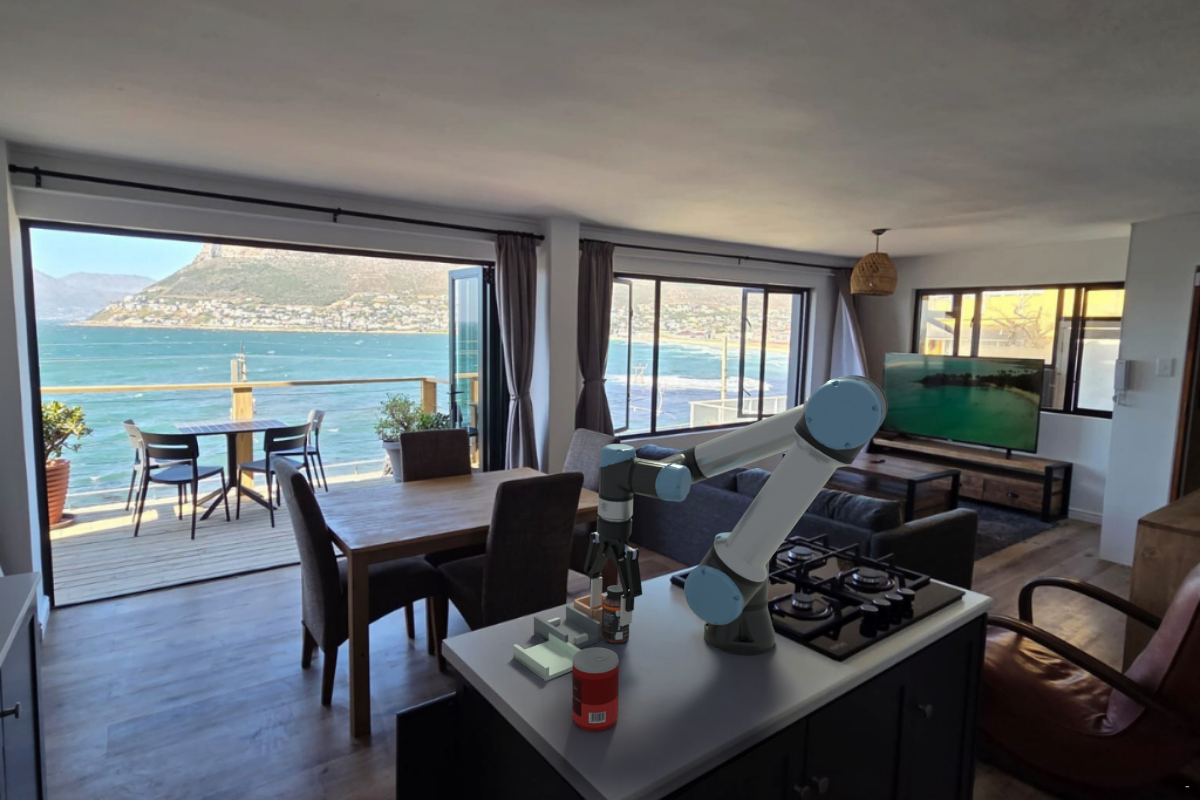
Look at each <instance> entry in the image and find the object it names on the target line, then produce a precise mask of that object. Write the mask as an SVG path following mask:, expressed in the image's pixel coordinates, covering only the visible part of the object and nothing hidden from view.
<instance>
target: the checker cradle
mask: <svg viewBox="0 0 1200 800" xmlns="http://www.w3.org/2000/svg"><path fill="white" fill-rule="evenodd" d="M549 633H551V634H553V635H554V636H556V637H557V638H559V639H561V640H562V641H564V642H567V641H568V642H569V643H571V644H572V645H574V646H576V647H577V648H579V649H580V650H581V649H582V648H583V649H584V648H585V647H588V646H590V645H593V644H596V643H598V642H600V641H602V629H601V623H600V622H599V621H597V620H595V619H593V618H591V617H589V616H588V615H586V614H584V613H582V612H580V611H578V610H577V609H575V608H574V606H571V605H569V604H568V605H566V606H565V618H564V619H561V618H560V617H559V616H558V617H555V618H551V619H549V620H544V619H543V618H541V617H539V616H538V615H534V616H533V634H534V636H536V637H538V638H539V639H541V640H543V641H544V642H545V641H546V642H547V641H549Z"/></svg>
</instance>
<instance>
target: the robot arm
mask: <svg viewBox="0 0 1200 800" xmlns="http://www.w3.org/2000/svg"><path fill="white" fill-rule="evenodd" d="M888 404H889V403H888V399H887V396H886V393H885V392H884V390H883V388H882V387H881V386H880V385H879V384H878V383H877V381H874V380H873V379H871V378H870V377H867V376H863V375H855V374H854V375H846V376H845V375H844V376H842V377H841V376H840V377H836V378H833V379H829V380H827V381H826V382H824V383H823V384H822V383H821V385H820V386H819V387H817V388H816V389H815V390H814V391H813V392H812V394H811V395H808V396H807V397H806V399H805V401H804V403H802V404H800V405H797V406H794V407H792V408H789V409H787V410H784V411H782V412H778V413H776V414H774V415H772V416H769V417H767V418H763V419H761V420H759V421H756V422H753V423H751V424H749V425H746V426H743V427H740V428H739V429H735V430H734V431H731V432H729V433H726V434H723V435H721V436H718V437H716V438H712V439H710V440H708V441H704V442H703V443H700V444H697V445H695V446H692V447H690V448H688V449H687V448H686V449H683V450H681V451H678V452H676V453H675V454H672V455H670V456H667V457H665V458H662V459H660V460H653V459H646V458H640V457H637V454H636V452H637V451H636V448H635V447H634V446H632V445H629V444H623V443H611V444H606V445H604V446H603V447H602V448H601V450H600V459H599V464H598V468H599V471H598V472H599V475H598V476H599V477H598V498H597V499H598V501H597V502H598V503H597V515H598V516H597V518H596V531H595V532H591V533H589V545H588V549H587V554H586V557H585V562H584V566H583V572H585V573H587V574H588V577H589V592H590V594H589V595H590V607H591V608H593V607H596V606H599V605H601V600H602V593H603V577H602V576H603V573H602V571H603V570H604V568H605V566H606V564H607V562H608V560H609V559H610V560H612V563H613V566H615V567H616V569H617V574H618V578H619V581H620V586H622V589H623V593H624V595H623V596H621V610H620V625H621V626H625V625H627V624H629V625H630V624H632V623H633V622H632V621H633V611H634V609H635V599H636V598H637V597H641V596H642V595H643V588H642V586H643V585H642V580H641V579H642V578H641V572H640V562H639V558H640V557H639V555H640V550H639V548H632V547H630V543H629V538H630V536H631V535H632V531H633V530H632V528H633V519H632V516H633V515H634V511H633V510H634V494H635V495H640V496H645V497H649V498H653V499H659V500H662V501H666V502H680V503H681V502H683V501H684V500H686V498H687V495H689V493H690V489H691V485H694V484H697V483H698V482H699V483H700V482H702V481H704V480H707V479H709V478H712V477H714V476H715V477H716V476H718V475H721V474H724V473H726V472H728V471H732V470H734V469H737V468H740V467H741V468H742V467H743V466H746V465H749V464H751V463H752V464H753V463H755V462H757V461H760V460H761V461H762V460H764V459H766V458H768V457H772V456H774V455H777V454H781V453H783V452H785V451H786V453H785V455H784V456H783V457H782V459H781V460H780V462H779V463H778V465H776V468H775V469H774V470H773V472H772V473H771V475H770V476H769V478H768V479H767V480H766V482H765V483H764V485H763V486H762V488H761V489H760V491H759V492H758V494H757V495H756V496H755V498H754V499H753V501H751V503H750V505H749V506H748V508H747V509H746V511H745V512H744V513H743V514H742V516H741V518H740V519H739V520H738V521H737V524H736V525H735V526H734V528H733V529H732V531H731V532H720V533H717V534H716V535H715V537H714V541H713V544H712V546H711V547H710V548H709V550H708V551H707V553H706V554H705V555H704V557H703V558H702V560H701V561H700V562H699V564H698V565H697V567H694V568H693V569H692V570H691V571H690V572H689V574H687V575H688V576H687V577H686V579H685V582H684V586H683V587H684V588H683V589H684V590H683V592H684V595H685V599H686V603H687V605H688V607H689V609H690V610H691V611H692V612H693V613H694V615H696V617H698V618H699V619H701V620H702V621H703V622H704V625H703V627H704V628H703V629H704V630H703V637H704V640H705V641H706V642H707V644H709V645H710V646H712V647H714V648H715V649H717V650H720V651H723V652H726V653H729V654H735V655H740V656H741V655H742V656H743V655H744V656H745V655H746V656H751V655H752V656H753V655H759V654H760V655H761V654H764V653H767V652H769V651H770V650H772V649H773V648H772V646H773V645H774V646H775V644H774V642H775V643H776V641H775V640H776V639H775V638H776V632H775V629H774V626H773V622H772V619H771V618H772V617H771V614H770V611H769V608H768V603H769V602H768V599H769V572H770V560H771V559H772V557H773V555H774V554H775V553H776V551H777V550H778V548H779V547H781V545H782V543H783V542H784V541H785V539H786V538H787V537H788V536H789V534H790V533H791V531H792V530H793V529H794V527H795V525H796V524H797V523H798V522H799V520H800V519H801V517H802V516H803V515H804V513H805V512H806V511H807V510H808V508H809V507H810V505H811V504H812V502H814V500H815V499H816V497H817V496H818V495H819V493H820V492H821V490H822V489H823V488H824V487H825V485H826V484H827V482H828V481H829V480H830V478H831V477H832V476H833V474H834V473H835V472H836V470H837V469H838V468H842V467H849V466H851V465H852V464H853V462H855V459H857V457H858V456H859V454H860V453H861V451H862V450H863V449H864V448H865V446H866V445H867V444H868V442H869V441H870V440H871V439H872V438H873V437H874V436H875V435H876V433H877V432H878V430H879V428H880V427H881V426H882V424H883V423H884V421H885V419H886V417H887V414H888V410H889V405H888ZM621 559H622V560H621ZM774 646H773V647H774ZM769 649H770V650H769ZM768 650H769V651H768ZM766 651H767V652H766Z"/></svg>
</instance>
